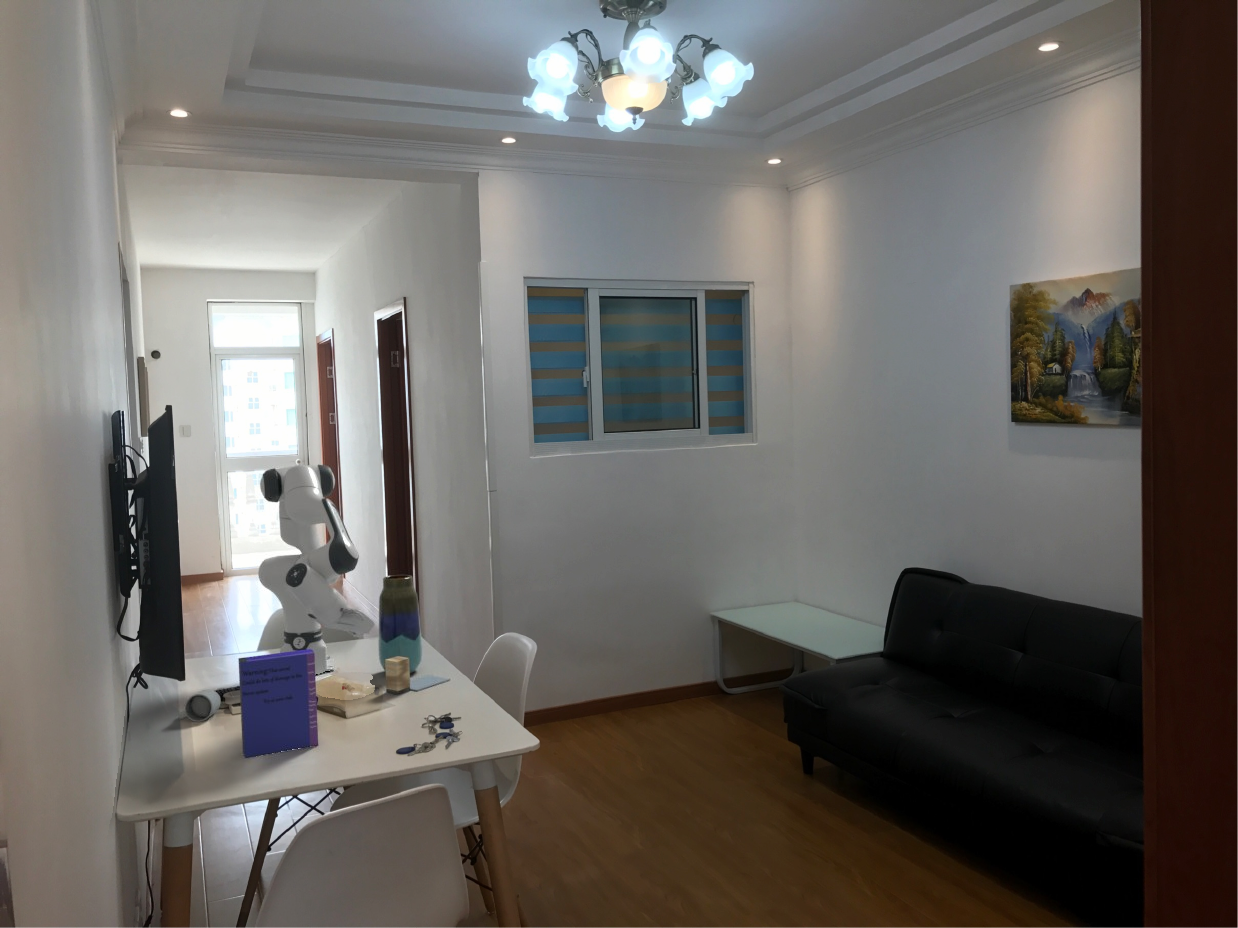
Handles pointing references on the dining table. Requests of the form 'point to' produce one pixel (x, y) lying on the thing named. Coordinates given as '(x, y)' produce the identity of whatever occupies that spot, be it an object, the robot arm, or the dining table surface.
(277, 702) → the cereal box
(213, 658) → the dining table surface
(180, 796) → the dining table surface
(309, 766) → the dining table surface
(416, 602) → the vase
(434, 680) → the rubber mat
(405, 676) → the oak block
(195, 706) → the ceramic mug
